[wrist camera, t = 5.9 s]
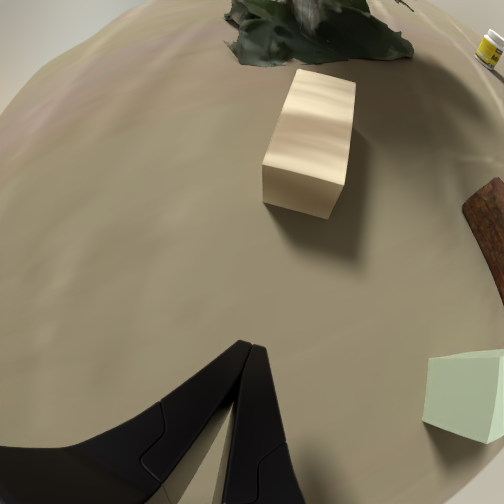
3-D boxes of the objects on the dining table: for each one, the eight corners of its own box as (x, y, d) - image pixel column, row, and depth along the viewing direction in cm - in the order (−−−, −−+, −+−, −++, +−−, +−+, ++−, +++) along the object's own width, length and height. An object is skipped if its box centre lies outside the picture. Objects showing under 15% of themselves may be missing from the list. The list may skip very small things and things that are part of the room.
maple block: (343, 185, 14) (355, 83, 17) (262, 164, 14) (297, 68, 17) (327, 220, 18) (344, 121, 21) (262, 203, 19) (293, 109, 22)
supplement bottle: (487, 70, 27) (503, 41, 19) (470, 54, 28) (484, 25, 20) (495, 71, 27) (510, 44, 19) (479, 55, 29) (492, 29, 21)
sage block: (466, 408, 13) (531, 419, 6) (422, 420, 13) (486, 444, 7) (472, 351, 14) (539, 344, 8) (428, 358, 15) (499, 357, 8)
